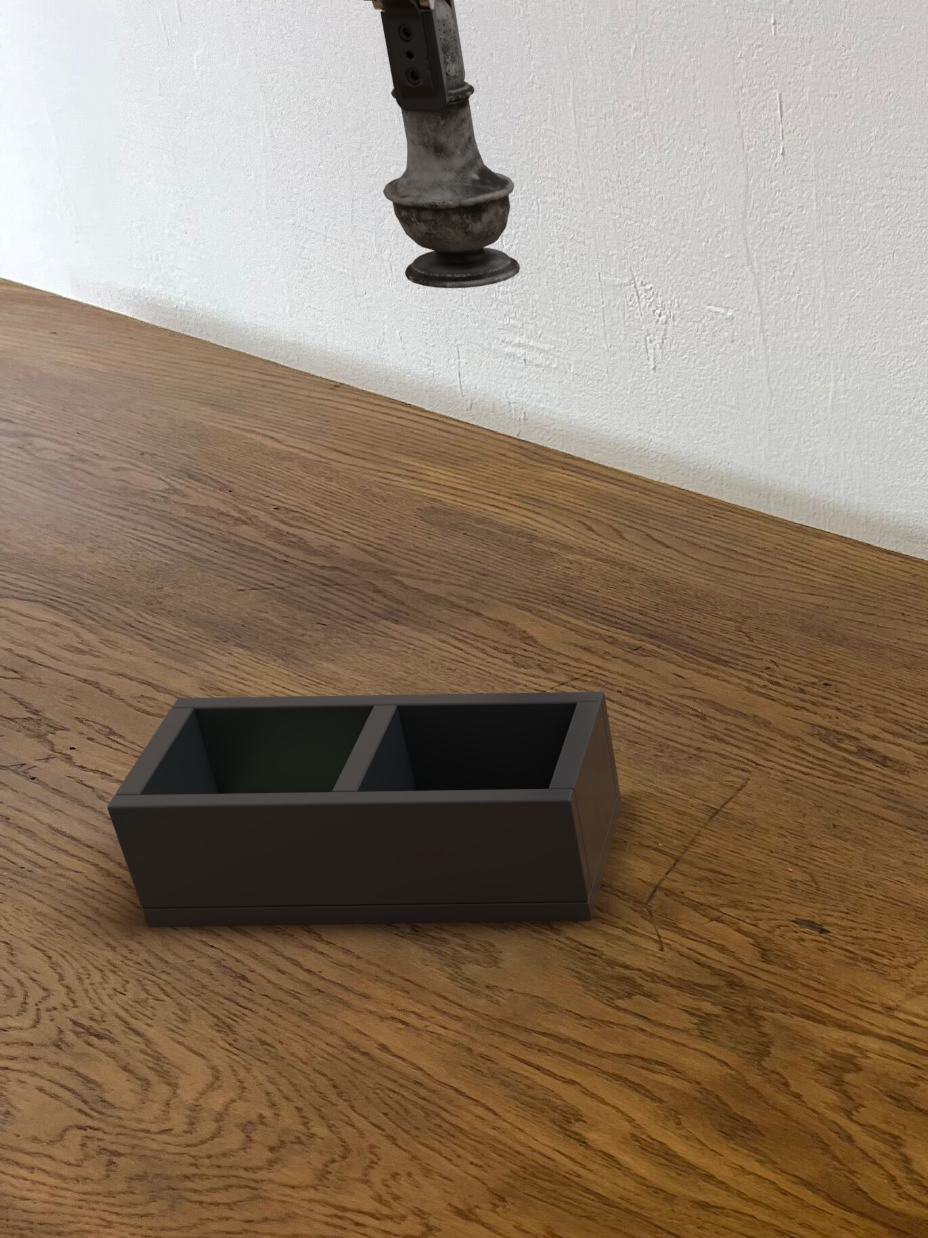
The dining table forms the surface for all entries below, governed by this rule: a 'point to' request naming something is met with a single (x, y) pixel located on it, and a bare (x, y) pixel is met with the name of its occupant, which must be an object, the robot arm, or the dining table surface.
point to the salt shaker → (451, 187)
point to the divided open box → (372, 810)
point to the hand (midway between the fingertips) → (432, 95)
